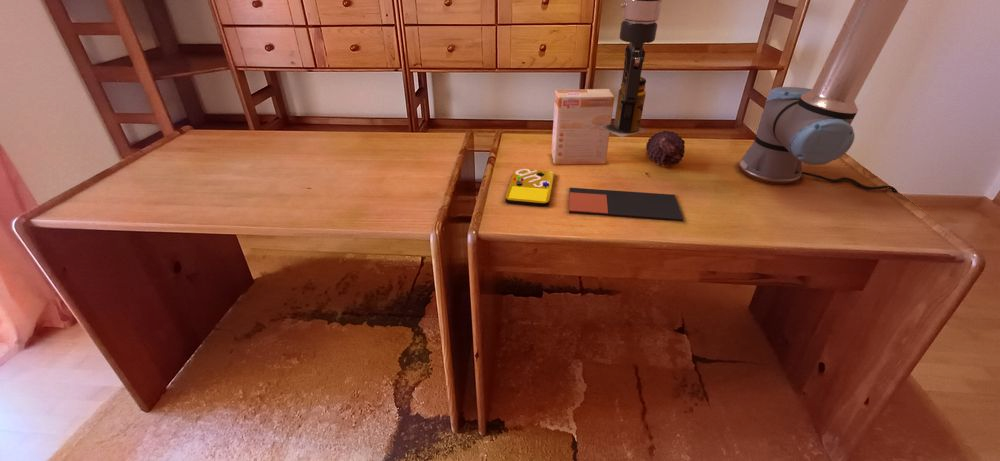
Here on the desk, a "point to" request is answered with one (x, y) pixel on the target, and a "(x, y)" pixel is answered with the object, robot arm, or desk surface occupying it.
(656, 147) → the pine cone
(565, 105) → the coffeecake box
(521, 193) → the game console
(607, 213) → the desk mat
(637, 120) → the condiment
